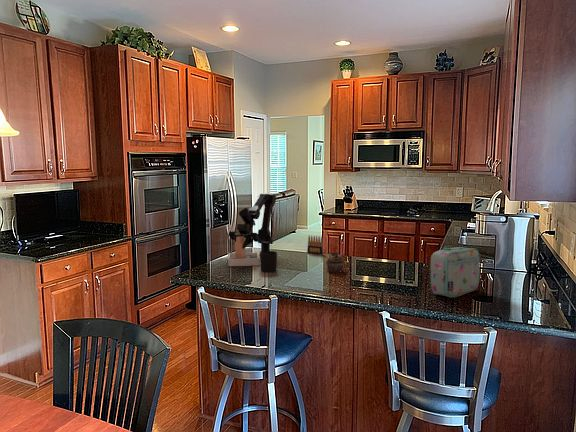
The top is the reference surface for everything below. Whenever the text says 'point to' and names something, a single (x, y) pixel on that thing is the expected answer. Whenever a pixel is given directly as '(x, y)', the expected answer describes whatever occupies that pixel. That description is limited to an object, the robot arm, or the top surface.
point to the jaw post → (240, 248)
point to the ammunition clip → (315, 245)
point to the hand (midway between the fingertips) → (239, 247)
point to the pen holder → (268, 261)
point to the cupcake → (334, 262)
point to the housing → (244, 260)
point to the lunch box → (455, 271)
